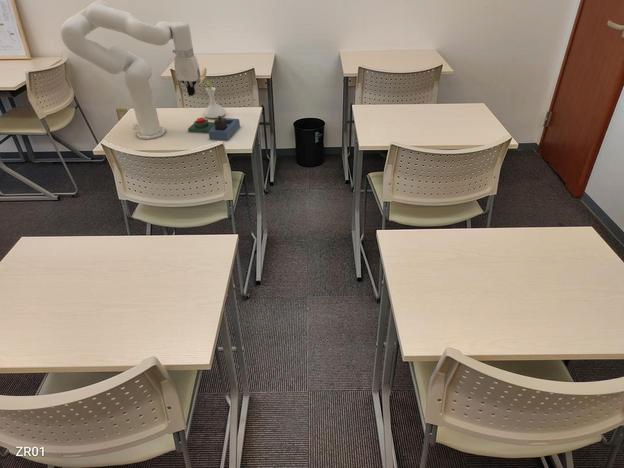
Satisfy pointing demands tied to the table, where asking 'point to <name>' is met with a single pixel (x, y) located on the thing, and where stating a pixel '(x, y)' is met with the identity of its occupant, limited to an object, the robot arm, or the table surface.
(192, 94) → the robot arm
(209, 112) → the flower in vase
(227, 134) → the blue tray
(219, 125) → the charger
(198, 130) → the switch box
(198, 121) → the power button
